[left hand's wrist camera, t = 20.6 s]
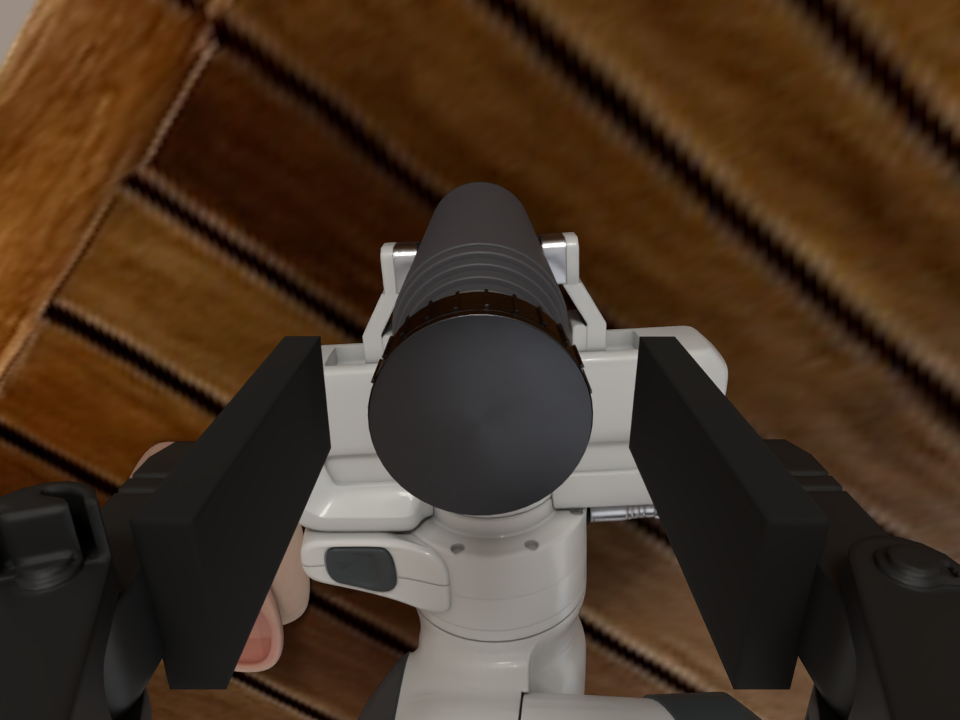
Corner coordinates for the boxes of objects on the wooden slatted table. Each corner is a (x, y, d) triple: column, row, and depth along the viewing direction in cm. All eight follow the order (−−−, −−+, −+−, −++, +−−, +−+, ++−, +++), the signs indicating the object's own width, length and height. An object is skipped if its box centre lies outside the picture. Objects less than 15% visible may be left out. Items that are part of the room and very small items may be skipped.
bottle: (440, 289, 33) (388, 525, 14) (420, 191, 31) (333, 317, 13) (536, 274, 33) (610, 494, 14) (522, 173, 31) (587, 275, 12)
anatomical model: (68, 470, 32) (298, 497, 33) (111, 432, 36) (317, 457, 36) (90, 667, 37) (290, 687, 37) (126, 616, 41) (307, 635, 41)
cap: (626, 377, 14) (643, 410, 13) (490, 509, 16) (491, 554, 14) (467, 243, 13) (466, 262, 12) (336, 398, 14) (319, 433, 13)
